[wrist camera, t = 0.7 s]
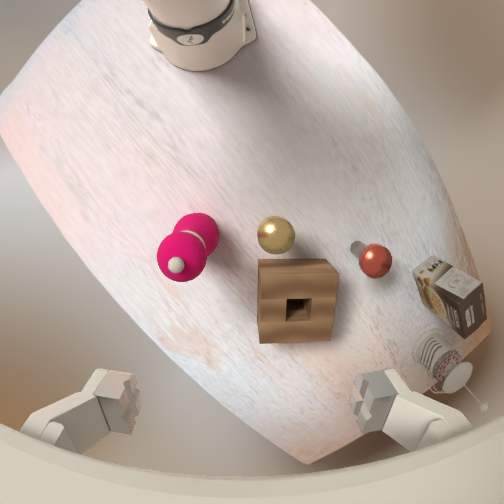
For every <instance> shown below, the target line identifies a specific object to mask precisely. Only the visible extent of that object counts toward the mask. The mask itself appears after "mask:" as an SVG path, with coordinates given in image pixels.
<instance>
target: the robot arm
mask: <svg viewBox="0 0 504 504" xmlns="http://www.w3.org/2000/svg"><path fill="white" fill-rule="evenodd" d="M143 2H144V3H145V4H146V6H147V7H148V13H149V16H150V19H151V22H150V23H149V24H148V26H149V29H150V31H151V36H150V39H149V43H150V45H151V46H152V47H153V48H155V49H157V50H159V51H161V52H162V53H163V54H164V55H165V56H166V58H167V59H168V60H169V61H170V62H171V63H172V64H174V65H175V66H177V67H179V68H182V69H185V70H190V71H204V70H209V69H213V68H216V67H218V66H221V65H223V64H224V63H226V62H227V61H229V60H230V59H231V58H232V57H233V56H234V55H235V54H236V53H237V52H238V51H239V50H240V48H241V47H243V46H244V45H246V44H248V43H250V42H252V41H254V40H255V39H256V31H255V27H254V23H253V19H252V15H251V11H250V7H249V4H248V0H143ZM246 29H250V31H247V30H246ZM354 383H355V385H356V387H355V388H354V389H353V390H352V392H351V396H350V405H351V409H352V412H353V414H355V415H357V416H358V418H357V423H358V426H359V428H360V430H361V432H362V433H366V432H372V431H377V430H382V431H383V432H385V433H386V434H387V435H389V436H390V437H391V438H393V439H394V440H396V441H397V442H399V443H400V444H401V445H403V446H404V447H405V448H407V449H408V450H409V451H411V452H410V453H407V454H403V455H400V456H396V457H393V458H388V459H385V460H381V461H376V462H372V463H367V464H363V465H358V466H353V467H347V468H342V469H336V470H329V471H322V472H315V473H307V474H296V475H284V476H267V477H218V476H199V475H187V474H178V473H169V472H162V471H155V470H148V469H142V468H136V467H131V466H126V465H121V464H117V463H112V462H108V461H104V460H100V459H96V458H92V457H89V456H85V455H82V454H83V453H84V452H85V451H87V450H88V449H89V448H91V447H92V446H93V445H94V444H96V443H97V442H98V441H100V440H101V439H102V438H104V437H105V436H106V435H107V434H109V433H110V431H112V432H118V433H125V434H131V433H132V431H133V428H134V425H135V423H136V422H135V419H134V417H135V416H137V415H138V414H139V412H140V409H141V395H140V391H139V390H138V389H137V388H136V384H137V379H136V376H135V375H134V374H133V373H126V372H119V371H113V370H106V369H99V368H98V369H96V370H95V372H94V373H93V375H92V376H91V378H90V379H89V381H88V383H87V384H86V385H85V387H84V388H83V390H82V392H81V393H80V392H77V393H75V394H72V395H70V396H68V397H67V398H64V399H62V400H60V401H58V402H55V403H53V404H51V405H49V406H47V407H45V408H42V409H40V410H38V411H36V412H34V413H32V414H31V415H30V417H29V418H28V419H27V421H26V422H25V424H24V425H23V426H22V428H21V429H20V431H19V432H18V431H16V430H14V429H11V428H9V427H7V426H5V425H2V424H1V423H0V504H504V414H503V415H501V416H499V417H497V418H495V419H494V420H491V421H489V422H487V423H485V424H483V425H481V426H479V427H477V428H473V427H472V426H471V424H470V423H469V422H468V420H467V419H466V418H465V417H464V415H463V414H462V413H461V412H460V411H458V410H456V409H454V408H451V407H449V406H447V405H444V404H442V403H440V402H437V401H435V400H433V399H431V398H429V397H426V396H424V395H422V394H420V393H417V392H415V391H413V392H411V391H410V389H409V388H408V387H407V385H406V384H405V382H404V381H403V380H402V378H401V377H400V375H399V374H398V373H397V371H396V370H395V369H393V368H390V369H384V370H381V371H373V372H366V373H358V374H357V375H356V377H355V380H354Z"/></svg>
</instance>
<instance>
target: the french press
mask: <svg viewBox="0 0 504 504" xmlns="http://www.w3.org/2000/svg"><path fill="white" fill-rule="evenodd" d="M450 350H451V355H450ZM453 350H454V355H453ZM448 351H449V356H448V357H447V358H446V356H447V352H448ZM444 353H446V354H445V356H444V358H443V359H442V360H440V361H439V362H436V361H437V360H439V359H440V358H441V357H443V355H444ZM412 354H413V359H414V360H415V362H417V363H422V364H423V365H424V366H425V367H426V369H427V370H428V375H427V383H428V376H429V372H430V373H431V374H432V385H433V387H434V384H433V377H434V378H437V379H438V380H439V381H444V385H442V388H443V390H442V391H445V392H442V391H441V392H439V391H437V389H436V388H435V387H434V389H435V390H436V391H437V392H434V391H432V389H431V388H430V386H429V383H428V387H429V389H430V390H431V391H432V392H433V393H436V394H437V393H449V394H450V393H453V392H455V391H457V390H458V389H460V388H462V387H463V386H465V384H466V382H467V381H468V379H469V378H470V376H471V373H472V369H473V367H472V364H471V363H469V362H463V363H461V357H460V355H459V354H458V352H457V351H456V350H455V349H454V348H453V347H452V346H451V345H450V344H449V343H448V342H447V341H446V340H445V339H444V333H443V331H442V330H440V329H431V330H430V331H428V332H426V333H424V334H423V335H422V336H421V337H420V338H419V339H418V341H417V342H416V344H415V346H414V349H413V352H412ZM445 358H446V359H445ZM442 361H443V362H442ZM441 362H442V363H441ZM439 363H441V364H440V365H438V364H439ZM426 364H427V366H426ZM428 367H430V369H429V368H428ZM432 371H433V373H432ZM434 373H435V374H436V377H435V375H434ZM466 388H467V387H466ZM467 389H468V388H467ZM468 390H469V389H468ZM469 391H470V390H469ZM470 393H471V394H472V395H473V393H472V392H471V391H470ZM473 396H474V395H473ZM474 397H475V396H474ZM475 398H476V397H475ZM476 399H477V398H476ZM477 401H478V402H479V403H480V401H479V400H478V399H477ZM480 404H481V403H480ZM481 405H482V404H481ZM487 409H488V404H487V403H485V404H483V405H482V406H481V408H480V411H482V412H485V411H486V410H487Z"/></svg>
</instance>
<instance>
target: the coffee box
mask: <svg viewBox="0 0 504 504" xmlns="http://www.w3.org/2000/svg"><path fill="white" fill-rule="evenodd" d="M413 275H414V277H415V280H416V283H417V286H418V290H419V293H420V296H421V299H422V302H423V304H424V305H425V306H426V307H428V308H429V309H430V310H431V311H432V312H434V313H435V314H436V315H437V316H438V317H439V318H441V319H442V320H443V321H444V322H445V323H446V324H448V325H449V326H450V327H451V328H452V329H453V330H455V331H456V332H457V333H458V334H459V335H460V336H461V337H462V338H464V339H466V338H467V337H468V336H469V335H471V334H472V333H473V332H474V331H475V330H476V329H478V328H479V327H480V325H481V324H482V323H483V322H484V321H485V320H486V319H487V317H486V307H485V298H484V290H483V284H482V282H480V281H478V280H477V279H475V278H473V277H471V276H470V275H468V274H466V273H464V272H462V271H461V270H459V269H457V268H455V267H453V266H452V265H450V264H448V263H446V262H444V261H442V260H441V259H439V258H437V257H435V256H432V257H431V258H429V259H428V260H427V261H425V262H424V263H423V264H421V265H420V266H419V267H417V268H416V269H415V270H413Z"/></svg>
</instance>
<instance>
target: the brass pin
mask: <svg viewBox="0 0 504 504" xmlns="http://www.w3.org/2000/svg"><path fill="white" fill-rule="evenodd" d="M257 237H258V241H259V244H260V246H261V247H262V248H263V249H264V250H265V251H266V252H268V253H271V254H281V253H284V252H286V251H287V250H289V249H290V248H291V246H292V245H293V243H294V239H295V232H294V229H293V227H292V225H291V224H290V223H289V222H288V221H287V220H286V219H284V218H282V217H279V216H272V217H269V218H266V219H265V220H264V221H263V222H262V223H261V224H260V226H259V228H258V231H257Z"/></svg>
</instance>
